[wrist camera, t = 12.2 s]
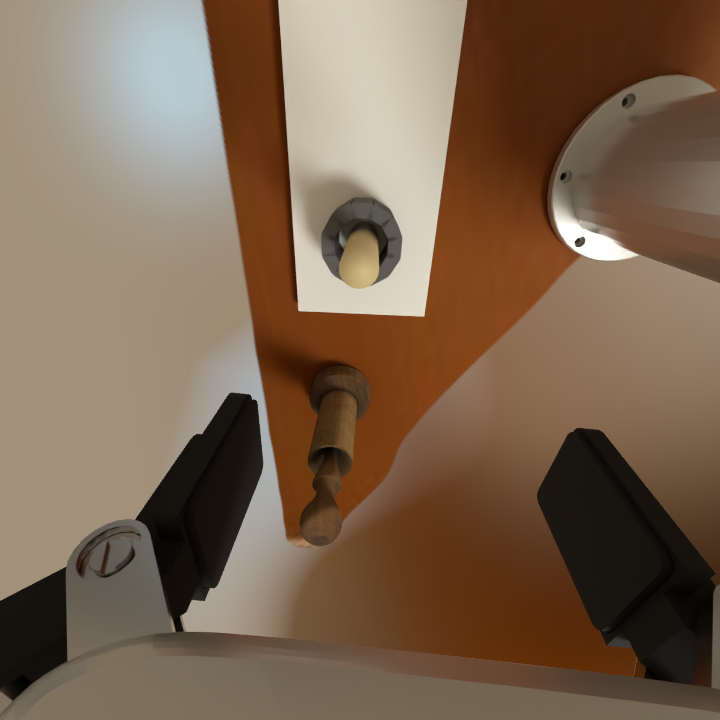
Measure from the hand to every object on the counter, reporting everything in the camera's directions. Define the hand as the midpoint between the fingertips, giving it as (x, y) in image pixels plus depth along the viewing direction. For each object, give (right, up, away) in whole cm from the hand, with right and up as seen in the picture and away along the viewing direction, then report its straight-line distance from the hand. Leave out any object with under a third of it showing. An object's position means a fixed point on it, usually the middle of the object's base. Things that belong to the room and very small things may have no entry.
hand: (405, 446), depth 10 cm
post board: (-1, +18, +17) cm, 25 cm away
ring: (-1, +13, +18) cm, 23 cm away
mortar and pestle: (-4, -1, +29) cm, 29 cm away
